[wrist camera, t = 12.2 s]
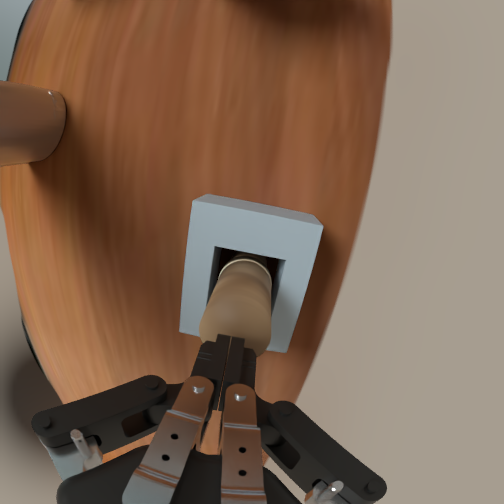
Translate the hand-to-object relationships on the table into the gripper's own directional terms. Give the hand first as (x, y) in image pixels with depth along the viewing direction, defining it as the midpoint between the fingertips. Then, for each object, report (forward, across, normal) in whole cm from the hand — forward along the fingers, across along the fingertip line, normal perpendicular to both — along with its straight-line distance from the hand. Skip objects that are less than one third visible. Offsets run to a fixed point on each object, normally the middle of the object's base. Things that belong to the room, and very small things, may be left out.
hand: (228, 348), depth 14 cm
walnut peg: (+13, 0, 0) cm, 13 cm away
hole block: (+13, 0, 0) cm, 13 cm away
